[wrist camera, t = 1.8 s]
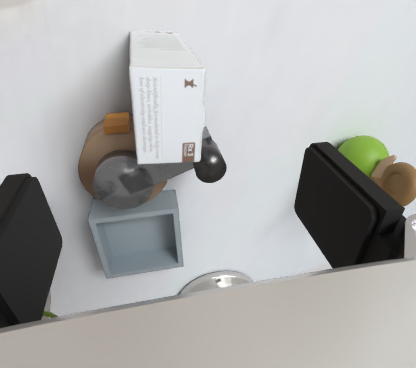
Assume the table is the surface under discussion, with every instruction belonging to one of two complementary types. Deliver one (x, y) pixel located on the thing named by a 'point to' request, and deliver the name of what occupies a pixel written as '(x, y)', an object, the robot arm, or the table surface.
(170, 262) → the tray
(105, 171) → the crank
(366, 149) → the snail figurine
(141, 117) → the skincare box
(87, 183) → the crank pedestal
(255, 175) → the table surface
